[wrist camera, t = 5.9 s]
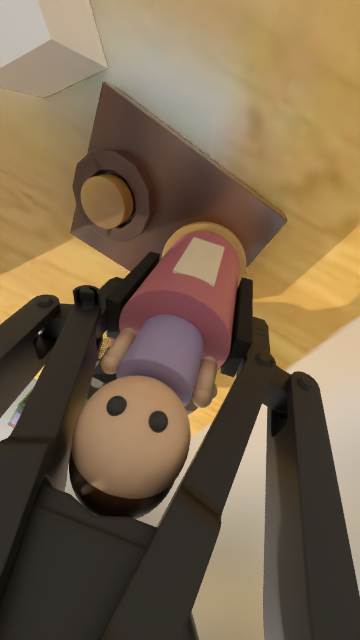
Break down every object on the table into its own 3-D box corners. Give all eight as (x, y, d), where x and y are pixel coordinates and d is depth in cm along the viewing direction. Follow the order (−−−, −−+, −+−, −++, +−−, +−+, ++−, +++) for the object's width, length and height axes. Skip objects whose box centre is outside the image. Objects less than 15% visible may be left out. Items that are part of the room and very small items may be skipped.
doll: (227, 310, 21) (188, 567, 8) (157, 286, 22) (15, 497, 9) (261, 238, 17) (290, 550, 4) (172, 209, 17) (-72, 408, 4)
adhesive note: (108, 68, 16) (51, 39, 12) (45, 98, 18) (-25, 83, 14) (66, -82, 13) (-36, -204, 8) (-5, -26, 15) (-121, -100, 10)
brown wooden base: (80, 227, 24) (59, 238, 22) (115, 86, 17) (89, 75, 14) (205, 308, 26) (199, 326, 24) (285, 214, 19) (290, 226, 16)
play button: (88, 207, 20) (76, 211, 18) (99, 163, 17) (86, 164, 16) (125, 231, 20) (115, 238, 19) (140, 192, 18) (131, 195, 16)
